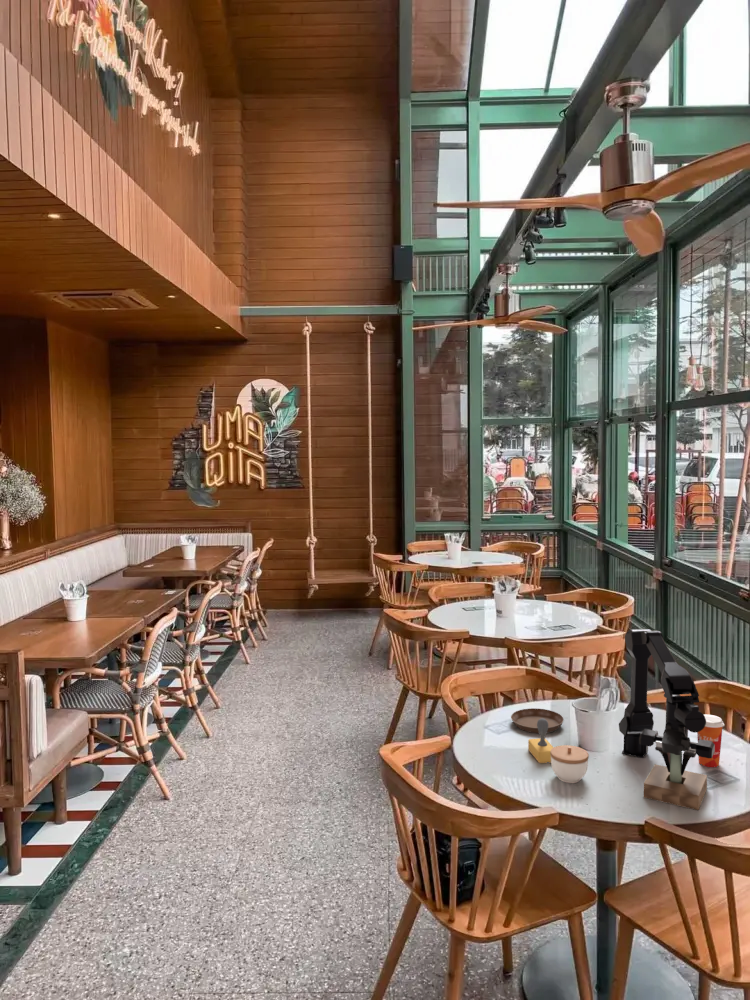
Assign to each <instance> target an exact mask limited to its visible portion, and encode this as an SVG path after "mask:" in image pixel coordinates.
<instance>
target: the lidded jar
mask: <svg viewBox="0 0 750 1000" xmlns="http://www.w3.org/2000/svg"><path fill="white" fill-rule="evenodd" d="M553 747H554V748H552V749H551V751H550V755H551V762H550V763H551V764H550V765H551V769H552V771H553V772H554V775H555V776H557V778H558V779H559V781H561V782H563V783H567V784H576V783H579V782H580V781H581V779H583V778H584V777H585V775H586V774H587V771H588V767H589V757H590V755H589V752H588V751H587V750H585V749H584V748H582V747H579V746H575V745H570V744H569V745H567V744H566V745H565V744H564V745H557V746H553Z"/></svg>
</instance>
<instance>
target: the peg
mask: <svg viewBox="0 0 750 1000" xmlns="http://www.w3.org/2000/svg"><path fill="white" fill-rule="evenodd" d="M682 761H683V752H682V753H681V754H680V755H675V754H672V753H670V782H674V783H679V784H681V783H682V775H681V768H682Z"/></svg>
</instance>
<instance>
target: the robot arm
mask: <svg viewBox="0 0 750 1000" xmlns="http://www.w3.org/2000/svg"><path fill="white" fill-rule="evenodd" d="M663 637H664V636H663V634H662V631H659V630H651V629H649V628H647V629H646V628H643V629H642V628H641V629H639V628H638V629H636V628H635V629H629V630H628V631H626V633H625V635H624V642H625V646H626V647H625V648H626V650H627V651H628V653H629V654H630V656H631V661H630V663H631V664H630V665H631V666H630V668H631V669H630V700H629V703H628V704H627V706H626V707H625V708H624V713H623V717H622V718H621V720H620V721H619V722H618V730H619V732H620V733H621V734H622V735H623V749H622V751H621V754H623V755H629V756H633V757H637V758H644V757H645V756H646V755H647V753H649V747H651V746H653V745H654V744H655V748H654V749H655V751H658V752H659V753H660V754H661V756H662V758H663V760H664V763H665V766H666V767H667V769H668V772H670V753H672V754H675V755H680V754H681V753H682V768H681V775H683V773H684V771H686V768H687V767H688V763H689V761H690V759H691V758H692V759H693V758H695V757H696V756H700V757H705V758H712V756H713V754H714V751H715V744H714V743H713V742H712V741H707V740H702V739H699V741H698V740H697V742H694V741H691V739H690V737H689V732H691V733H697V732H699V731H701V730H702V729H703V728H704V727H705V725H706V719H705V716H704V715H703V714H704V713H702V712H701V711H700V707H699V705H696V704H695V703H700V698H699V697H700V694H699V691H698V688H697V686H696V684H695V681H694V679H693V677H692V676H691V674H690V673H689V672H688V671H687V669H686V668H684V667H682V666H681V665H679V664H678V663H677V662H676V660H675V658H674V656H673V654H672V653H671V651H670V649H669V647H668V646H667V644H666V642H665V640H664V638H663ZM651 656H652V658H653V661H654V662H655V663H656V665H657V668H658V669H659V671H660V674H661V677H660V684H661V688H662V690H663V692H664V694H663V697H664V698H666V699H665V703H666V704H665V725H664V727H665V728H664V731H663V734H662V735H659V731H658V730H653V729H654V722H655V721H654V714H653V712H652V711H651V710H650V708H649V707H648V677H649V674H648V673H649V671H648V670H649V659H650V658H651ZM651 748H652V747H651Z"/></svg>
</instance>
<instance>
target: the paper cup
mask: <svg viewBox="0 0 750 1000" xmlns="http://www.w3.org/2000/svg"><path fill="white" fill-rule="evenodd" d="M702 714H703V715H704V716H705V719H706V725H705V727H704V728H703V729H702V730H701V731H699V732H696V733H697V735H696V736H697V742H698V741H699V739H702V740H707V741H712V742H713V743H714V744H715V751H714V754H713V756H712V758H705V757H700V756H698V755H697V756H698V763H699V765H701V764H702V765H701V766H703V767H706V768H717V766H718V767H719V766H720V760H721V759H720V758H721V748H722V737H723V727H725V723H724V721H723V719H722V718H721V717H719V716H717V715H713V714H706V713H705V714H704V713H702Z"/></svg>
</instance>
